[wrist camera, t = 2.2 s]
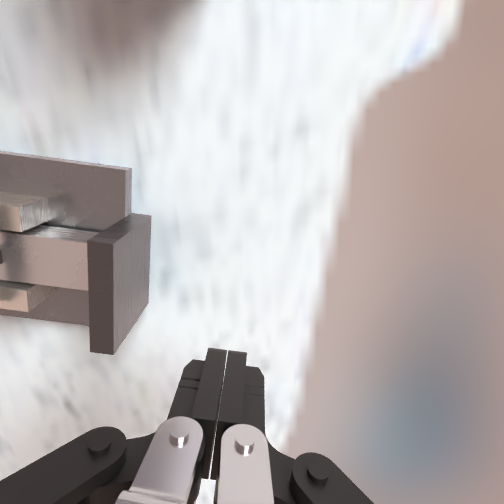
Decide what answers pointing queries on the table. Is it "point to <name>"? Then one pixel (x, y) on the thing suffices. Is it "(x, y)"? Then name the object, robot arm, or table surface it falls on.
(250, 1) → the table surface
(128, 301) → the plunger
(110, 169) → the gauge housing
